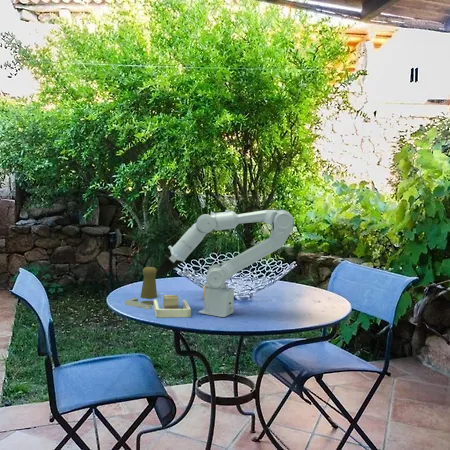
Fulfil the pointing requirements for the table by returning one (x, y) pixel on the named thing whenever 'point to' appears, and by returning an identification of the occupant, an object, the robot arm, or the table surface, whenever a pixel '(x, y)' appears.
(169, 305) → the block
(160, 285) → the table surface
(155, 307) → the u-shaped bracket
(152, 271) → the cork
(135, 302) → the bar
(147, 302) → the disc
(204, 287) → the tan rounded-top cylinder
